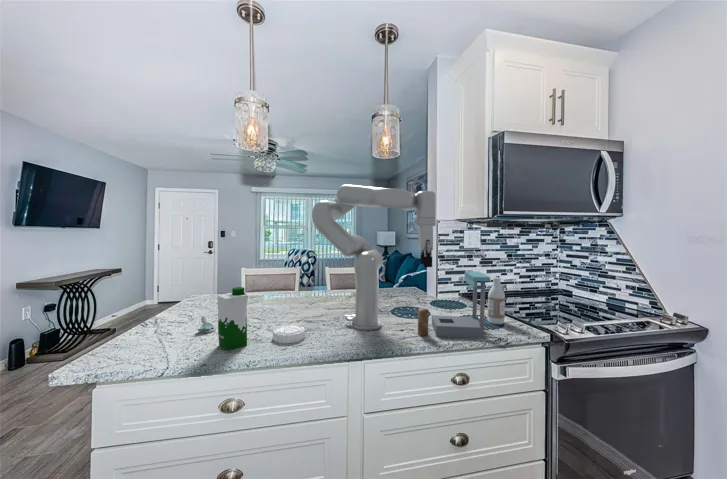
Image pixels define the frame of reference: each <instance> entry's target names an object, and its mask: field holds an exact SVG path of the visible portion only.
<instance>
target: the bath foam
mask: <svg viewBox="0 0 727 479" xmlns="http://www.w3.org/2000/svg"><path fill="white" fill-rule="evenodd" d="M501 282H502V281H501V277H496V276H495V277H493V282H492V283H493V284H492V285H493V286H492V287H491V288H490V289H489V291H488V293H487V322H488V323H491V324H494V325H503V324H504V323H505V316H506V313H505V312H506V309H505V308H506V294H505V290H503V288H502V286H501Z"/></svg>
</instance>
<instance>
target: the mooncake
mask: <svg viewBox="0 0 727 479" xmlns="http://www.w3.org/2000/svg"><path fill="white" fill-rule="evenodd" d="M305 338H306V328H305V327H303V326H302V325H299V324H284V325H281V326H278V327H276V328H274V329H273V331H272V340H273V341H274V342H276V343H278V344H290V343H292V344H293V343H296V342H297V343H298V342H300V341H304V340H303V339H305Z"/></svg>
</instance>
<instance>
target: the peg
mask: <svg viewBox="0 0 727 479" xmlns="http://www.w3.org/2000/svg"><path fill="white" fill-rule="evenodd" d="M429 316H430V315H429V309H428V308H424V307H420V308H418V309H417V336H419V337H428V336H429Z"/></svg>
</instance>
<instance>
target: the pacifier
mask: <svg viewBox="0 0 727 479" xmlns="http://www.w3.org/2000/svg"><path fill="white" fill-rule="evenodd" d="M200 321H201V323H202V324H200V328H198V329H197V331H201V333H206V334H208V333H212V332H214V331H216V327H215V326H214V325H213V324H212V323H210V322H207V317H206V316H205V315H202V316H201V318H200Z"/></svg>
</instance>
